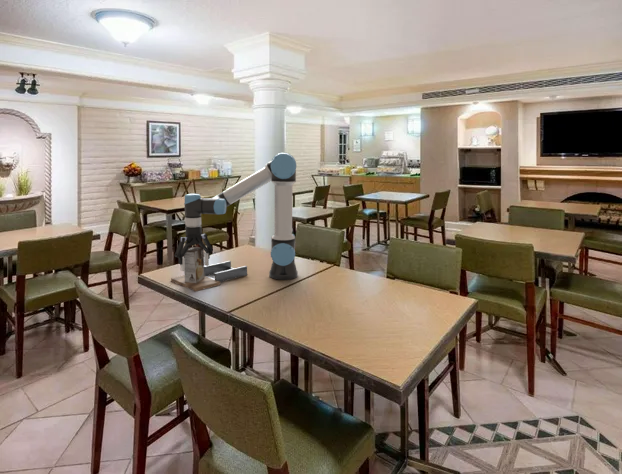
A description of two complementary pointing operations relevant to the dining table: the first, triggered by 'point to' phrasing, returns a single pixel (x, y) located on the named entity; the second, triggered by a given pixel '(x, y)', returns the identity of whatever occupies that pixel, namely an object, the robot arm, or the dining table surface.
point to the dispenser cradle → (224, 271)
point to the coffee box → (194, 264)
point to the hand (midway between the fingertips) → (194, 268)
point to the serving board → (197, 286)
